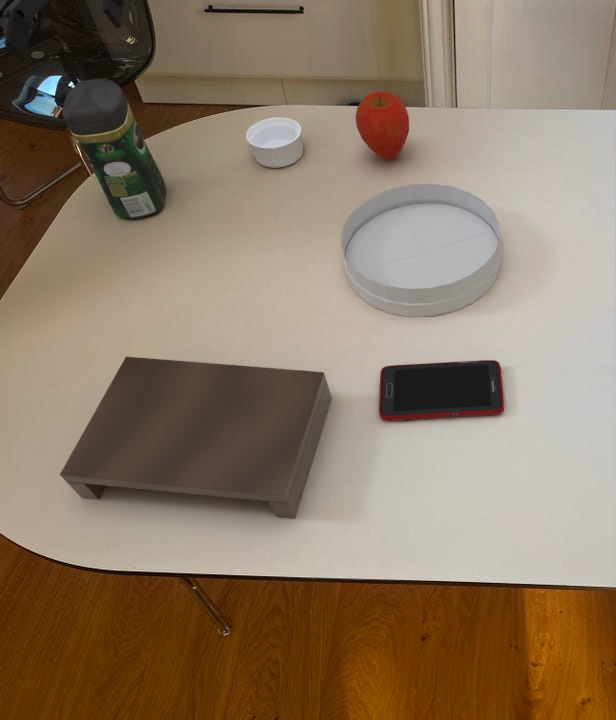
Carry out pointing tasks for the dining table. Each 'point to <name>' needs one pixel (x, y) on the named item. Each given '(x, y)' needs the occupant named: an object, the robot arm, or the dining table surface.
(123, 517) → the dining table surface
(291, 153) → the ramekin
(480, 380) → the cell phone
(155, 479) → the shelf
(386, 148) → the apple
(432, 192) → the dish
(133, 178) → the coffee jar
